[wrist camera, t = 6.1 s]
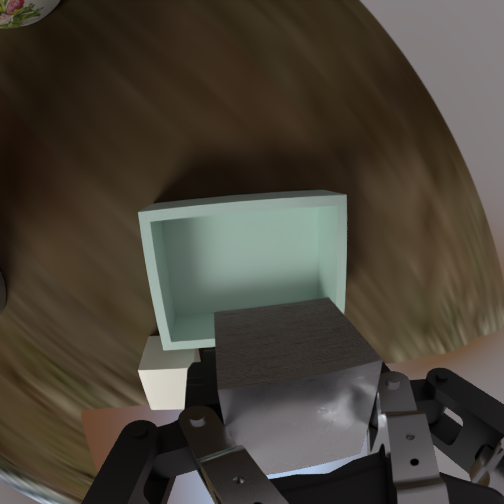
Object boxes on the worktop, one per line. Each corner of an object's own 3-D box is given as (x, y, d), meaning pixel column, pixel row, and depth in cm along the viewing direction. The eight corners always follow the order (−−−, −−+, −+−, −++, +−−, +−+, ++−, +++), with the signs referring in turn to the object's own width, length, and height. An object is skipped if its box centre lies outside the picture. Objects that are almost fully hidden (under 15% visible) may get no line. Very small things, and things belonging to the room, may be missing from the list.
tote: (170, 320, 29) (163, 350, 24) (152, 203, 26) (138, 212, 21) (323, 303, 31) (343, 328, 26) (322, 189, 28) (346, 194, 23)
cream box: (158, 373, 31) (151, 409, 25) (148, 336, 30) (138, 370, 24) (202, 371, 32) (202, 407, 26) (195, 332, 30) (193, 367, 24)
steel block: (213, 311, 13) (217, 390, 8) (328, 297, 13) (382, 359, 8) (227, 398, 14) (236, 478, 9) (324, 383, 15) (360, 453, 10)
